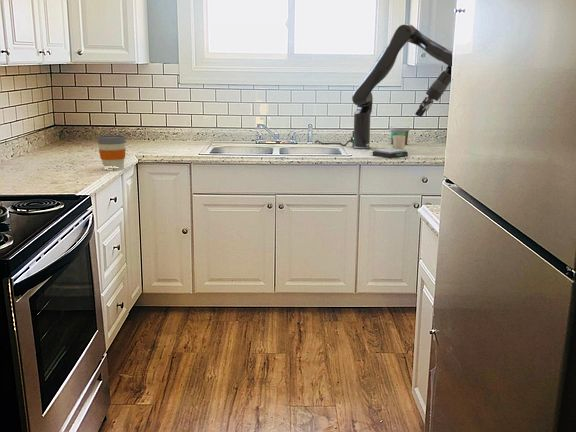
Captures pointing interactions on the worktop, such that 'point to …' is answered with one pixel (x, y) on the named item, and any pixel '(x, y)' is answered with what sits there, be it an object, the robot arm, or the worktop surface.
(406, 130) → the food container
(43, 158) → the worktop surface
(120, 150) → the reusable coffee cup
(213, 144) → the worktop surface
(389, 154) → the scale
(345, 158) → the worktop surface
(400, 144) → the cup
